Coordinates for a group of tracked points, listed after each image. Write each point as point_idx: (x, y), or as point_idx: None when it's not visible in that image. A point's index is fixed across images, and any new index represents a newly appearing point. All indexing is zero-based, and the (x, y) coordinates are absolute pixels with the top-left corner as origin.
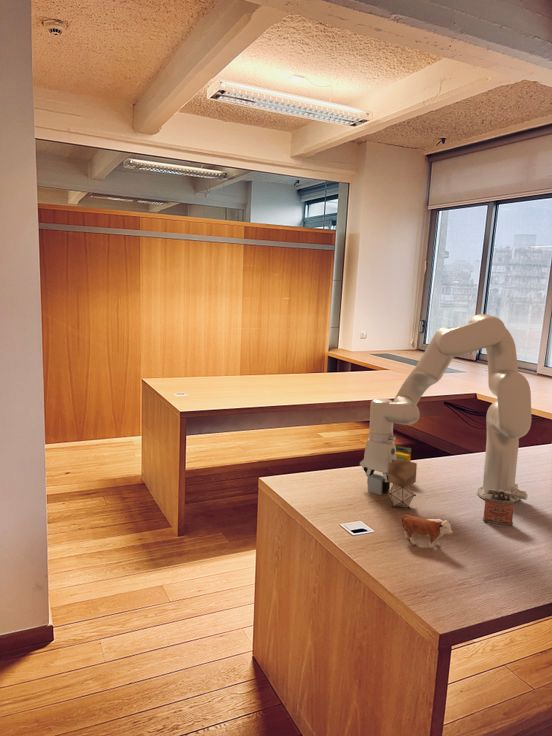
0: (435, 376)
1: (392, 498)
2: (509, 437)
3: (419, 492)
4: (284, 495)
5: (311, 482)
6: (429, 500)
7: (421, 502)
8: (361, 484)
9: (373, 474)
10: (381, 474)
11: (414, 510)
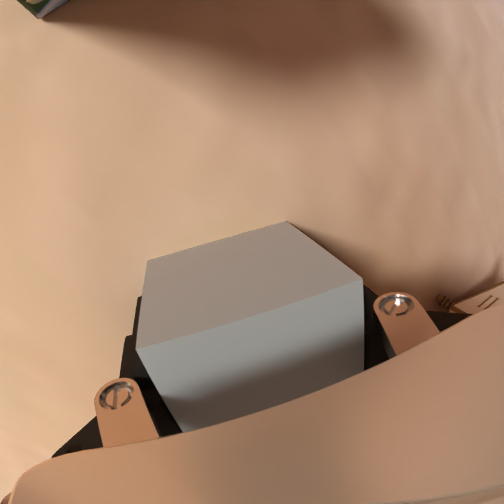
0: None
1: None
2: None
3: (423, 47)
4: None
5: (6, 480)
6: (498, 123)
7: (493, 183)
8: (55, 333)
9: (181, 415)
10: (233, 330)
11: (496, 284)
